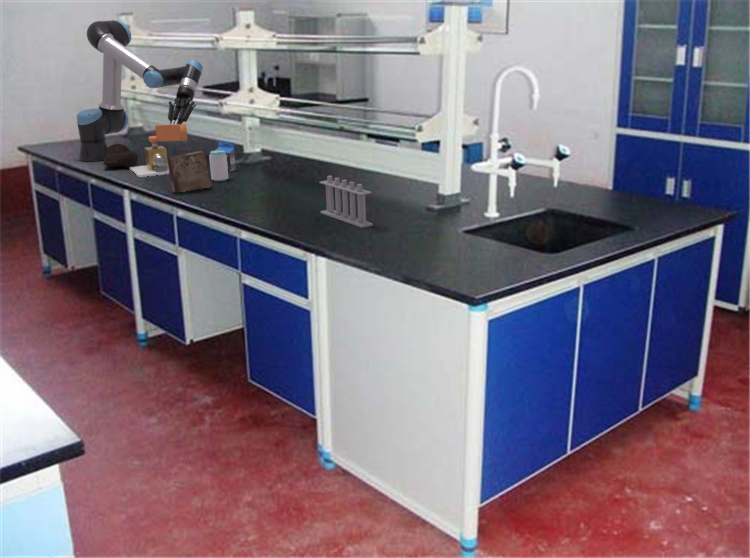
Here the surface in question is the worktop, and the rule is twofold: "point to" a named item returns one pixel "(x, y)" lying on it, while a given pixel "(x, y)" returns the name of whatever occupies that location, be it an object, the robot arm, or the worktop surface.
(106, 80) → the robot arm
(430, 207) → the worktop surface
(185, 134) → the lever
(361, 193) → the test tube rack
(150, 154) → the valve
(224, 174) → the can
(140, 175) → the mount board
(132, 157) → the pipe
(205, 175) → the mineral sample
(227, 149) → the label tape cartridge
